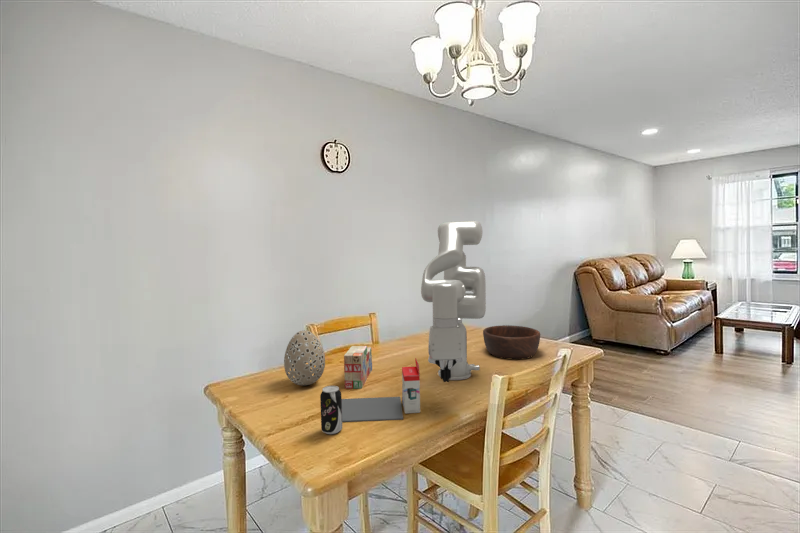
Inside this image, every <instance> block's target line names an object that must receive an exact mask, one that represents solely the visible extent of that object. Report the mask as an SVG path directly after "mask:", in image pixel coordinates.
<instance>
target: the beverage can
mask: <svg viewBox="0 0 800 533" xmlns="http://www.w3.org/2000/svg"><path fill="white" fill-rule="evenodd" d="M319 396H320V397H319V398H320V400H319V402H320V425H321V432H322V433H323V434H327V435H335V434H337V433H339V432H340V431H342V429H343V422H342V399H343V398H342V392H341V390H340V387H339V386H337V385H327V386H324V387H322V391H321V392H320V394H319Z"/></svg>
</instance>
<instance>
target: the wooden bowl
mask: <svg viewBox="0 0 800 533" xmlns="http://www.w3.org/2000/svg"><path fill="white" fill-rule="evenodd" d="M482 335H483V342H484V346H485V348H486V350H487V352H488V353H489V354H492V356H493V355H494V356H493V357H496V356H497V357H496V358H500V357H502V358H501V359H506V358H512V359H511V360H523V359H522V358H526V359H529V358H528V357H530V358H532V357H533V356H535V354H537V351H538V348H539V346H540V341H541V332H540V331H539V330H537V329H535V328H532V327H528V326H522V325H509V324H508V325H507V324H505V325H504V324H503V325H494V326H488V327H486V328H483V331H482ZM531 356H532V357H531Z"/></svg>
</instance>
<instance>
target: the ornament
mask: <svg viewBox="0 0 800 533" xmlns="http://www.w3.org/2000/svg"><path fill="white" fill-rule="evenodd" d="M322 345H323V344H322V343H321V342H320V340H319V338H318V337H317V336H316V335H315V334H314V333H313V332H311V331H309V330H306V329H302V330H300V331H298V332H296V333H295V334H294V335H293V336H292V337H291V339H290V340H289V342H288V344H287V346H286V349H285V352H284V359H283V367H284V373H285V374H286V376H287V378H288V379H289V381H290V382H292V383H293V384H295V385H298V386H309V385H312V384H314V383H316V382H317V381H319V379H320V378H321V377H322V375H323V373H324V371H325V368H326V355H325V352H324V351H325V350H324V348H323V346H322Z"/></svg>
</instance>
